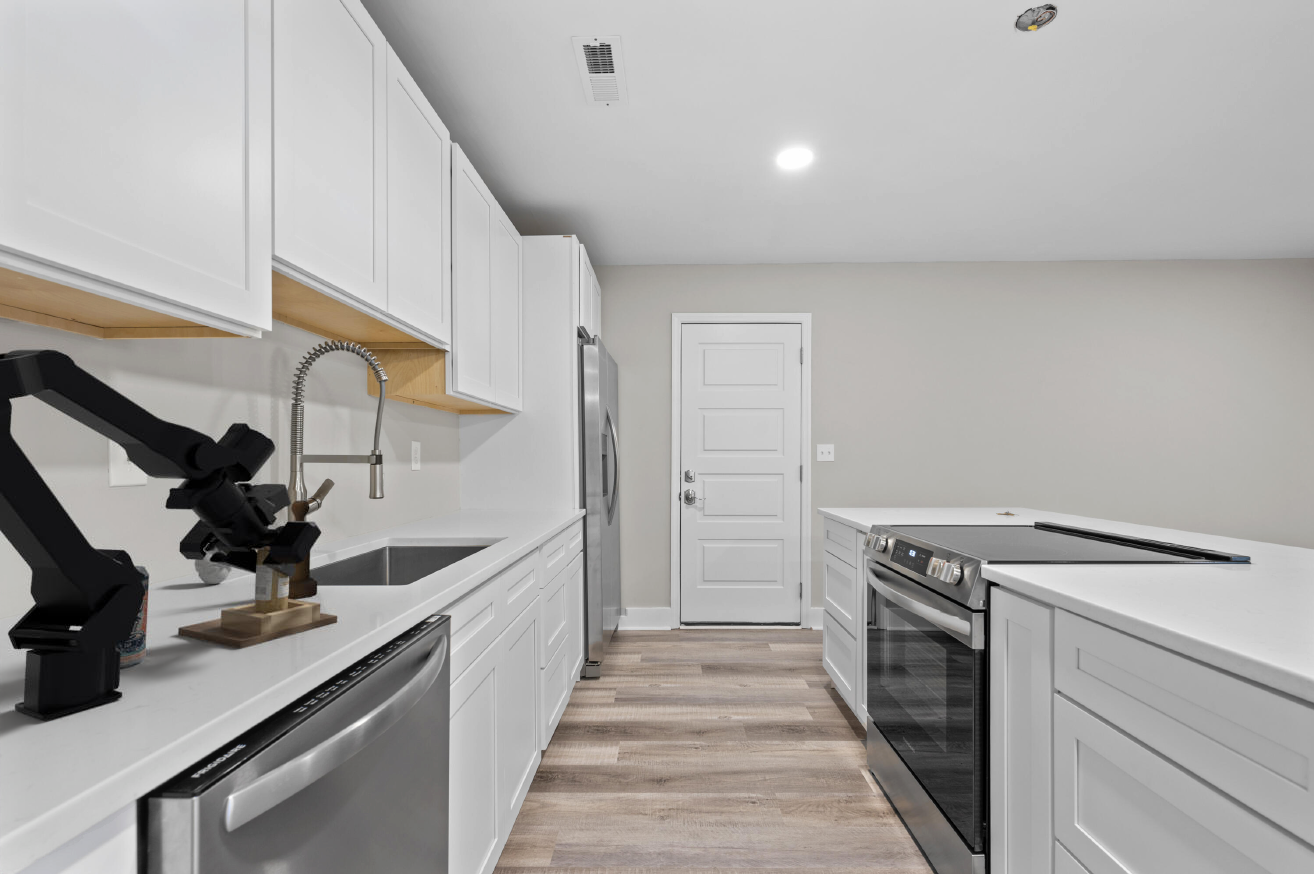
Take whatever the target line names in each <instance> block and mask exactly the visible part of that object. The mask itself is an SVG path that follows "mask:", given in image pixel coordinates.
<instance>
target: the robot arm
mask: <svg viewBox="0 0 1314 874" xmlns="http://www.w3.org/2000/svg"><path fill="white" fill-rule="evenodd" d="M29 396H33V398H36V399H38V400H39V401H41V402H43V403H45V404H47V405H49V406H50V407H52V408H54V409H56V410H58V411H59V412H61V413H63V414H64V415H66V416H68V417H70V418H71V419H74V420H76V421H77V422H79V423H80V424H82V425H84V426H85V427H87V428H89V429H91V430H93V431H94V432H96V433H98V434H100V435H102V436H103V437H106V438H107V439H108V440H111V441H112V442H114V443H116V444H117V445H119V446H120V447H121V448H122V449H123V450H124V451H125V454H126V456H127V458H128V460H129V461H130V462H131V463H133V465H134V466H136V467H137V468H138V469H140V471H142V472H144V474H146V475H148V476H149V477H152V478H155V479H167V480H168V479H173V480H174V479H175V480H176V479H177V480H183V481H182V482H181V483H180V485H178V487H171V488H169V489H168V490H169V495H168V496H167V498H166V501H165V505H164V506H165V509H166V510H185V511H186V510H190V511H191V510H192V512H193V513H194V514H195V515H196V516H197V517H198V518H199V520H198V521H197V522H196V523H195V524H194V525H193V526H192V528H191V529H190V530H189V531H188V533H186V535H184V537H183V538H182V539H181V540H180V542H179V553H180V554H181V555H182V556H183V557H184V558H185V559H186V560H193V561H195V560H203V559H204V558H205V556H206V555H207V553H206V552H210V553H211V554H212V556H211V558H210V561H211V562H213V563H219V564H222V565H226V566H230V567H232V568H235V569H237V570H241V571H245V572H248V573H251V574H255V575H256V564H257V550H263V549H265V547H267V548H268V549H270V550H268V553H269V554H268V555H267V557H266V558H265V559H264V561H263V562H262V564H263V565H265V566H267V567H269V568H271V569H273V570H275V571H277V572H279V573H281V574H283V575H286V576H288V577H293V575H294V574H295V572H296V570H295V564H298V563H300V562H302V561H304V559H305V557H306V556H307V554H308V553H309V551H310V552H311V550H312V548H313V547H314V545H315V543H316V542H317V541H318V539H319V537H320V536H321V535H322V531H321V529H320V528H319V526H318V524H317V523H316V522H315V521H306V520H304V521H295V520H293V521H292V520H291V521H287V522H286V523H285V524H284V525H279V526H277V527H276V528H272V529H271V528H269V526H273V525H274V523H276V521H277V519H278V518H277V517H276V514H277V513H279V512H280V511H282V510H283V509H284V508H286V507H290V506H291V505H292V502H291V498H290V495H289V492H288V491H289V490H288V489H287V485H286V484H285V483H283V484H282V483H262V484H253V485H252V483H249V482H250V481H252V480H253V478H254V477H255V476H256V475H257V474H258V472H259V471H260V470H261V469H262V468H263V467H264V466H265V464H266V462H268V460H269V459H270V457H272V455H273V454H274V453H275V451H276V445H275V443H274V441H273V440H272V439H271V438H269V437H268V436H266V435H265V434H263V433H262V432H260V431H258V430H255V429H252V428H251V427H250V426H249V425H248V424H247V423H246V422H245V423H244V422H243V423H242V422H241V423H240V422H238V423H237V422H233V423H232V424H231V425H230V426H229V427H228V428H227V430H226V432H225V434H223V435H222V436H221V438H219V440H218V441H217V442H216V441H215V440H214V439H213V438H212V437H211V436H210V435H208V434H205V433H203V432H200V431H198V430H196V429H193V428H191V427H188V426H186V425H185V426H184V425H181V424H178V423H173V422H171V421H168V420H164V419H161V418H159V417H158V416H156V415H154V414H153V413H151V412H150V411H148V410H147V409H145V408H144V407H142V406H140V405H139V404H138V403H135V402H134V400H131V399H129V398H128V397H127V396H125V395H123V394H122V393H121V392H119V391H117V390H116V389H115V388H112V387H111V386H110V385H108V384H106V383H105V382H103V381H102V380H100V379H99V378H97V377H96V376H94V375H92V374H91V373H89V372H88V371H86V370H85V369H83V368H82V367H80V366H78V365H77V364H76V363H75V361H74V359H72V358H71V357H70V356H69V355H67V354H65V353H62V352H61V351H59V350H55V349H15V350H10V351H9V352H4V353H1V352H0V532H1V534H2V535H3V536H4V537H5V538H6V540H8V542H9V544H11V546H12V547H13V548H14V550H15V551H16V552H17V553H18V554H19V555H20V557H21V558H22V559H23V560H24V562H25V563H26V564H27V566H28V567H29V568H30V570H31V579H30V580H31V581H30V596H31V597H32V598H33V601H34V602H35V604H33V606H31V608H30V609H29V610H28V611H27V612H26V613H25V614H24V615H22V617H21V618H20V619H19V620H18V621H17V622H16V623H15V624H14V625H13V626H12V627H11V628H10V629H9V630H8V633H7V636H8V638H9V640H10V643H11V645H12V647H13V649H14V650H23V649H24V650H26V653H25V668H24V669H25V670H24V671H25V672H24V690H23V691H24V692H23V701H21V702H18V703H15V705H14V709H15V710H16V711H19V712H22V713H25V714H27V715H30V716H31V717H32V716H33V717H34V718H38V719H41V720H50V719H51V720H52V719H54V718H57V717H61V716H64V715H67V714H71V713H74V712H77V711H82V710H85V709H87V708H91V707H95V706H98V705H102V704H105V703H108V702H112V701H115V700H119V699H122V698H123V691H122V692H121V691H118V690H117V689H118V688H119V687H120V682H121V679H120V678H121V668H120V662H121V652H120V651H118V650H116V644H119V643H123V642H126V641H128V640H129V638H130V635H131V632H132V630H133V627H134V624H135V622H136V619H137V616H138V613H139V611H140V608H141V605H142V602H143V597H144V596H145V594H146V592H145V587H144V585H143V583H142V581H141V580H140V579H141V578H144V577H145V574H143V573H141V572H139V571H138V570H137V569H136V568H135V566H136V565H135V564H134V562H133V559H132V557H131V555H130V554H129V553H128V552H127V551H126V550H125V549H113V548H111V549H110V548H109V549H108V548H105V549H103V548H95V547H94V546H92V545H91V544H90V542H89V540H88V539H87V538H86V537H85V535H84V533H82V531H81V529H80V528H79V527H78V526H77V524H76V523H75V521H74V520H73V518H72V517H71V516H70V514H69V513H68V511H67V510H66V509H65V507H64V506H63V505H62V503H61V502H60V501H59V500H58V497H56V495H55V493H53V491H52V490H51V487H49V486H48V483H46V480H44V479H43V477H42V476H41V474H40V473H39V472H38V470H37V469H36V467H35V466H34V465H33V463H32V462H31V461H30V459H29V458H28V457H27V455H26V454H25V452H24V451H23V449H22V448H21V446H20V445H19V444H18V443H17V441H16V440H15V438H14V437H13V434H12V432H11V425H12V413H13V404H12V402H11V399H18V398H23V397H29ZM205 551H206V552H205ZM71 627H81V628H80V629H70V628H71Z"/></svg>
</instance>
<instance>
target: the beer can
mask: <svg viewBox="0 0 1314 874" xmlns="http://www.w3.org/2000/svg"><path fill="white" fill-rule="evenodd" d="M134 566H135V568H136V569H137V570H138V571H139V572H141V573H143V574H145V577H144V578H141V579H140V580H141V581H142V583H143V585H144V587H145V592H146V594H145V596H144V597H143V602H142V605H141V608H140V611H139V613H138V616H137V619H136V622H135V624H134V627H133V630H132V632H131V635H130V638H129V640H128V641H126V642H123V643H119V644H116V650H118V651H120V652H121V662H120V669H122V668H123V669H124V668H127V667H133V666H134V665H136V664H138V663H140V661H142V660H144V659H145V658H146V651H147V647H146V646H147V628H148V627H147V626H148V608H149V607H148V604H149V602H148V601H149V586H150V585H149V583H150V573H149V572H148V571H147V569H146V567H145V566H143V565H134Z"/></svg>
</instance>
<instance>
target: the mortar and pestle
mask: <svg viewBox="0 0 1314 874" xmlns="http://www.w3.org/2000/svg"><path fill="white" fill-rule="evenodd" d="M290 510H291V512H292V515H293V516H294V519H295V520H294V521H305V517H306V515H307V514H308V512H309V511H310V503H308V501H307V500H304V499H302V500H301V499H300V500H295V501H294V502H293V503H291V505H290ZM295 570H296V572H295V574H294V575H293V577H289V595H288V599H294V600H299V599H306V598H310V597H313V596H315V595H317V594H318V581H317V580H315V579H314V577H310V576H311V575H310V574H311V550H310V551H309V553H308V554H307V556H306V557H305V559H304V561H302V562H300V563H298V564H295Z"/></svg>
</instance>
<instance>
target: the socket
mask: <svg viewBox="0 0 1314 874" xmlns="http://www.w3.org/2000/svg"><path fill="white" fill-rule="evenodd" d="M220 611H221V612H220V618H216V619H211V620H208V621H203V622H199V623H195V624H190V625H185V626H180V627H177V628H178V631H177V635H178V636H181V637H182V636H183V637H187V638H192V639H197V640H201V641H206V642H211V643H213V644H218V645H224V646H227V647H232V648H235V649H236V648H237V649H243V648H247V647H252V646H254V645H255V646H256V645H258V644H262V643H265V642H270V641H272V640H273V641H274V640H276V639H280V638H283V637H287V636H291V635H295V634H298V633H302V632H306V631H309V630H313V629H318V628H320V627H325V626H328V625H333V624H336V623H338V615H333V614H327V613H322V612H321V603H318V602H317V603H316V602H311V601H305V600H299V599H288V609H286V610H281V611H277V612H273V613H268V614H261V613H255V602H254V603H250V604H249V603H248V604H245V605H240V606H235V607H230V608H225V609H221V610H220Z"/></svg>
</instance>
